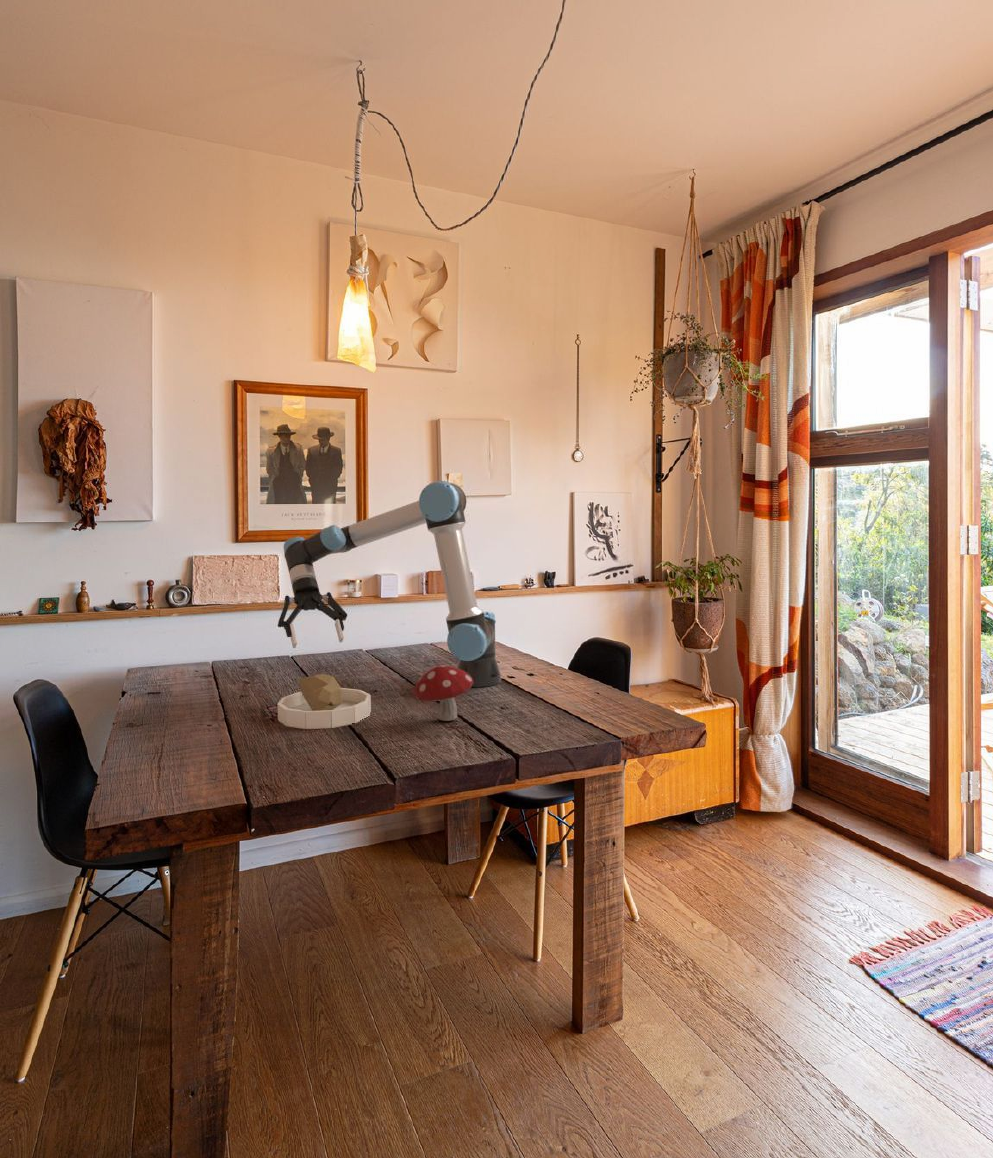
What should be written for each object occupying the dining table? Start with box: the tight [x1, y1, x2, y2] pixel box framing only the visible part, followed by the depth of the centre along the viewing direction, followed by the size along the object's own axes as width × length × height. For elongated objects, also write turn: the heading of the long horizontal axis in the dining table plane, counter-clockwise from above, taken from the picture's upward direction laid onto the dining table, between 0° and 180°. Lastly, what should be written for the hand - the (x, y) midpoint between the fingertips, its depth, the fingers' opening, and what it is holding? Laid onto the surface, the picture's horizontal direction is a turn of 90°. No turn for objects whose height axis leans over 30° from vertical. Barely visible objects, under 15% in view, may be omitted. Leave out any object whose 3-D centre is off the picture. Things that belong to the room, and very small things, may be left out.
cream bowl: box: [276, 687, 372, 730], centre depth 188 cm, size 24×24×4 cm
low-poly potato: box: [298, 673, 342, 711], centre depth 188 cm, size 15×11×12 cm
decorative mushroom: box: [413, 665, 474, 722], centre depth 181 cm, size 16×16×15 cm
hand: (318, 642), depth 201 cm, fingers open, 13 cm apart
